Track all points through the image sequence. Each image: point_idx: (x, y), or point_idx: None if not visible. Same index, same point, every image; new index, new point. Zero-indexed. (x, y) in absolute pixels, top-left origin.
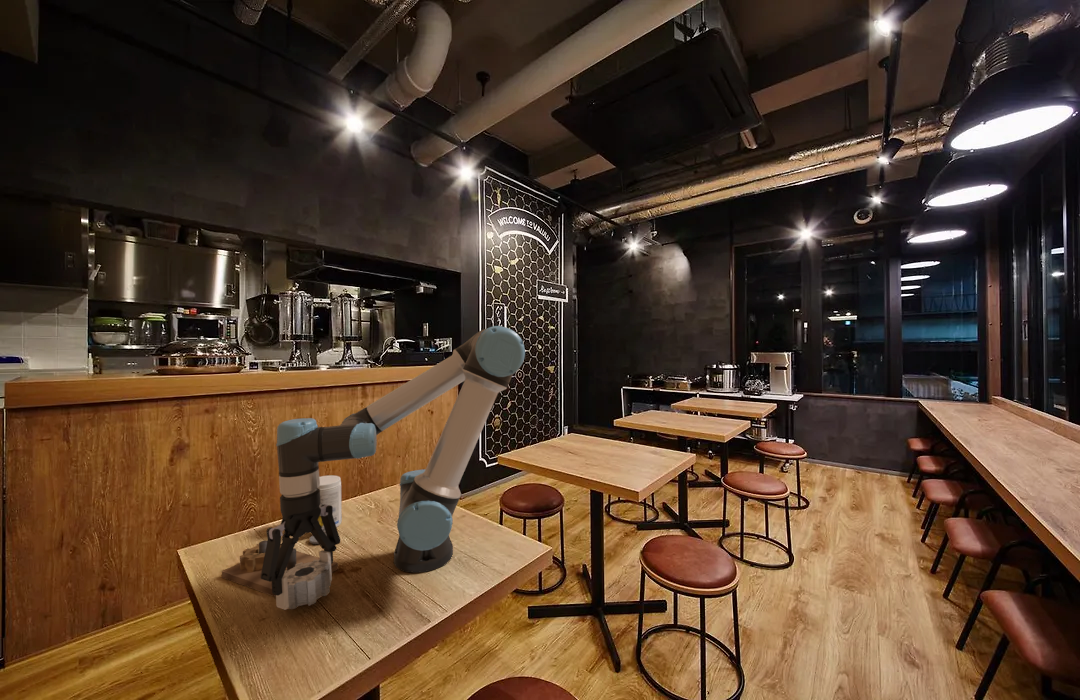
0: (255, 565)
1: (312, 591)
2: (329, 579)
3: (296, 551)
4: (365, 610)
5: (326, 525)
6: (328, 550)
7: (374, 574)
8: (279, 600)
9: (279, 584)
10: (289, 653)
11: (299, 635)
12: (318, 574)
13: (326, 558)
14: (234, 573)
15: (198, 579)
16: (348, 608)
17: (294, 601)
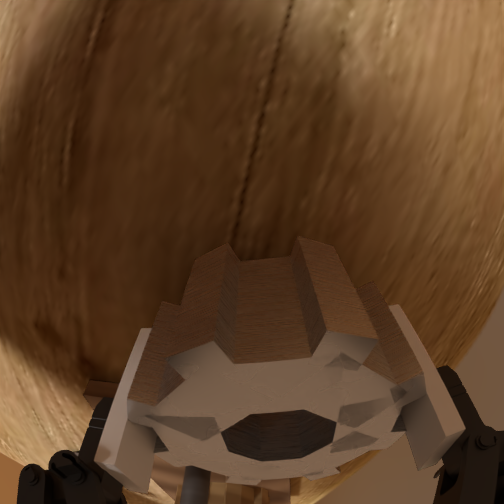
0: (253, 498)
1: (328, 278)
2: (158, 325)
3: (154, 480)
4: (145, 39)
5: None
6: (100, 475)
7: (11, 253)
8: None
9: (457, 409)
10: (473, 101)
11: (409, 151)
12: (259, 364)
13: (127, 441)
14: (284, 495)
15: (311, 500)
16: (176, 120)
17: (385, 304)
